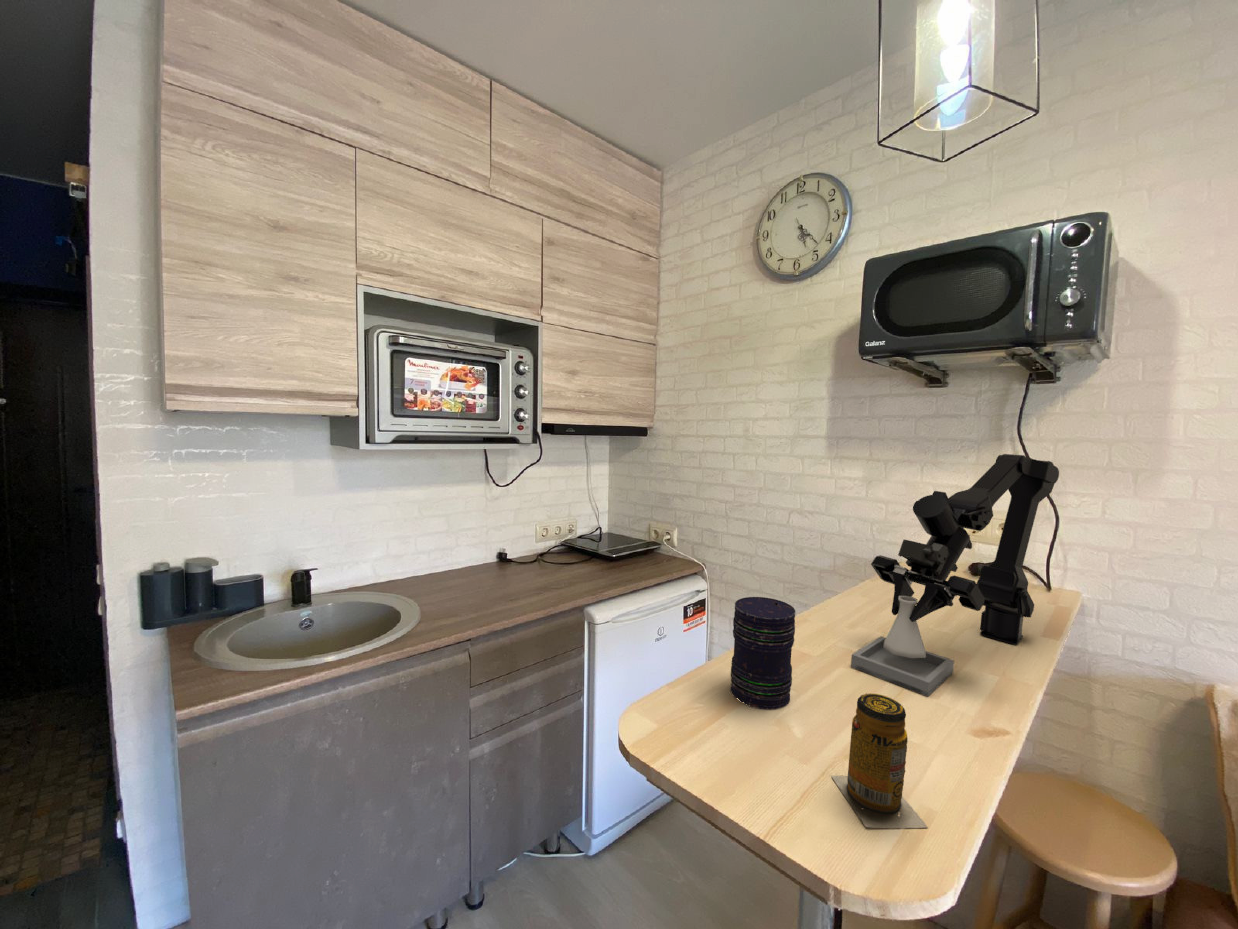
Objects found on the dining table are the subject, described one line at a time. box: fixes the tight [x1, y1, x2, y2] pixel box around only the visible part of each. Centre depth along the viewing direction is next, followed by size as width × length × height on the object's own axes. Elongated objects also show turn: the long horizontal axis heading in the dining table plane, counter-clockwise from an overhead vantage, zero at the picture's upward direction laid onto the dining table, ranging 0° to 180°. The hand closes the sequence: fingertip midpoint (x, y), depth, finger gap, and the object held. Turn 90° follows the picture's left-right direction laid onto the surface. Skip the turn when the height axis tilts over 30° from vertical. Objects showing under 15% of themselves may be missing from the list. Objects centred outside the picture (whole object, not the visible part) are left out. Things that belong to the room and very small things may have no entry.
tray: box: [850, 636, 955, 698], centre depth 95 cm, size 13×13×2 cm
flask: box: [883, 596, 927, 658], centre depth 95 cm, size 7×7×10 cm
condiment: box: [831, 692, 928, 830], centre depth 62 cm, size 7×8×12 cm
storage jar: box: [730, 596, 796, 711], centre depth 85 cm, size 10×10×15 cm
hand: (902, 617), depth 94 cm, fingers closed on flask, 3 cm apart
